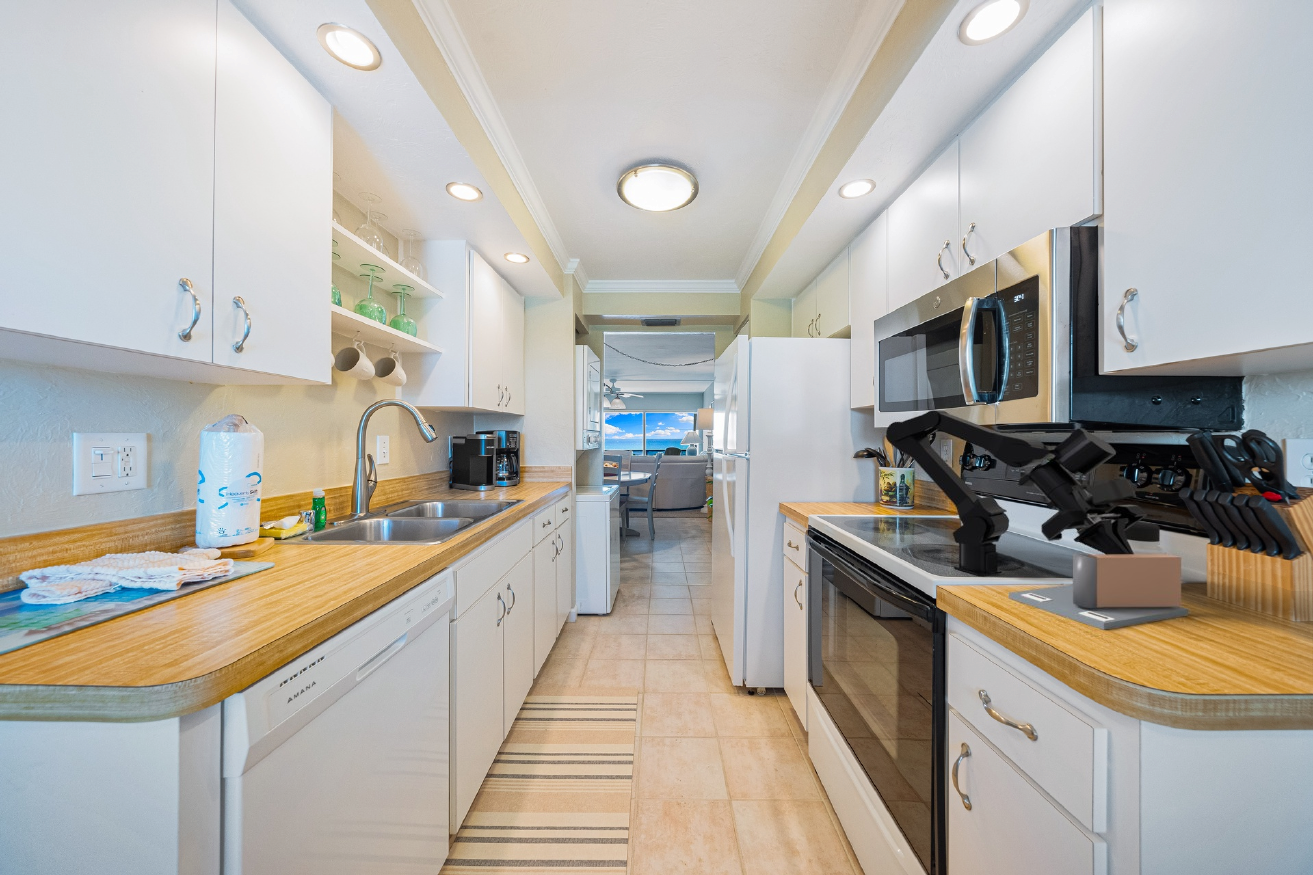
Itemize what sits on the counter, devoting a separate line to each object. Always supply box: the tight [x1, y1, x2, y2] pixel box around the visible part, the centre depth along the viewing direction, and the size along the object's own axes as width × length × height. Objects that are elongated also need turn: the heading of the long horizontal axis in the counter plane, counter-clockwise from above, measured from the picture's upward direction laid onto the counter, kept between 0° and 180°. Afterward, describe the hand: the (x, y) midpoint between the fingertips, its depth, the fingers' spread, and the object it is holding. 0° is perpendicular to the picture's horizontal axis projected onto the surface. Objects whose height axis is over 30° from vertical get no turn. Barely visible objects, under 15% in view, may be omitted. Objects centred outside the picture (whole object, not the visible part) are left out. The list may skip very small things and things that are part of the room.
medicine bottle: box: [1124, 520, 1168, 554], centre depth 98 cm, size 7×7×12 cm
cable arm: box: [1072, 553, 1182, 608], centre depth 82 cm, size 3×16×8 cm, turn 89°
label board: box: [1008, 583, 1190, 631], centre depth 85 cm, size 15×20×1 cm
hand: (1133, 564), depth 83 cm, fingers closed
